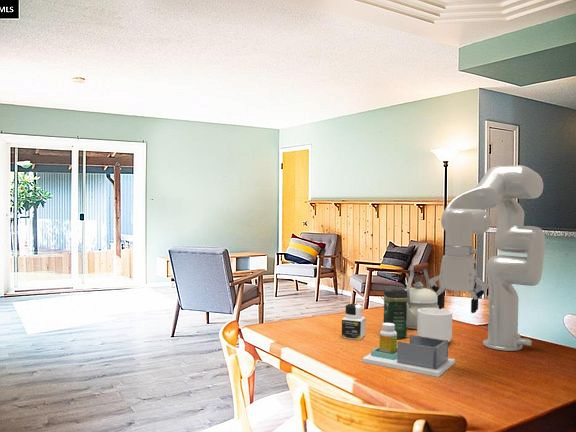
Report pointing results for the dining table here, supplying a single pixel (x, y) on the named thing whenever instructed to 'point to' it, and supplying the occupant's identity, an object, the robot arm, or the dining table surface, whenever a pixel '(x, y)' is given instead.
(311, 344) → the dining table surface
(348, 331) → the medicine bottle
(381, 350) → the supplement bottle
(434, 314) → the handleless ceramic cup
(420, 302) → the kettle
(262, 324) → the dining table surface
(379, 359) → the base plate
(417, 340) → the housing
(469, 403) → the dining table surface
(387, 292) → the coffee jar
